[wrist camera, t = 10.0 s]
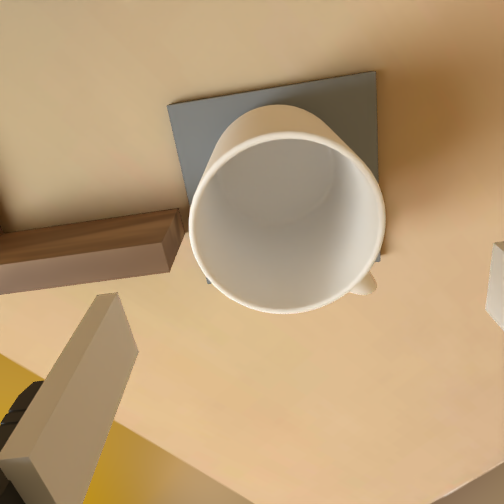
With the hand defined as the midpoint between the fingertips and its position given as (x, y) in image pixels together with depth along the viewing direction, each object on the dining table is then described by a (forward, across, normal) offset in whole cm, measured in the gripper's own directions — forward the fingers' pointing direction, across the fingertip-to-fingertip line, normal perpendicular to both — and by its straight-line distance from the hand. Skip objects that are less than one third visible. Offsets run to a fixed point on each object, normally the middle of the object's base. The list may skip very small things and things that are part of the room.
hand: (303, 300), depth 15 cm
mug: (+15, +1, -1) cm, 15 cm away
